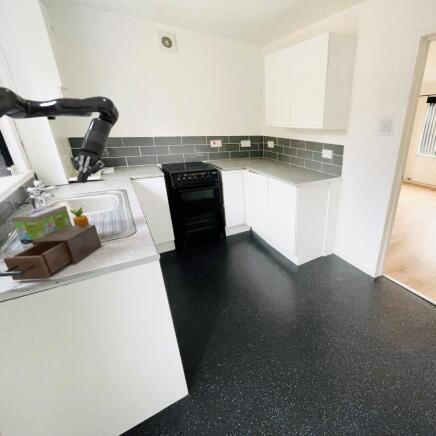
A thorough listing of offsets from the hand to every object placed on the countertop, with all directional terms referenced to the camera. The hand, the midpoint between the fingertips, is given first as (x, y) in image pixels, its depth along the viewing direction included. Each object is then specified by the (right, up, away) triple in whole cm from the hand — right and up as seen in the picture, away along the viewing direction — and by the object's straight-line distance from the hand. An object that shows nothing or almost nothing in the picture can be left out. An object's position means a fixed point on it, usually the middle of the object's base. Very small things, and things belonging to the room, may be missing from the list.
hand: (80, 182), depth 98 cm
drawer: (+1, -33, -16) cm, 36 cm away
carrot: (-6, -25, +10) cm, 27 cm away
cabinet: (0, -29, -3) cm, 29 cm away
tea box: (-19, -26, +8) cm, 33 cm away
